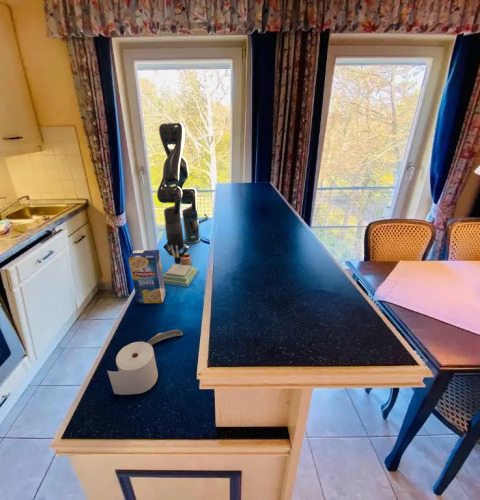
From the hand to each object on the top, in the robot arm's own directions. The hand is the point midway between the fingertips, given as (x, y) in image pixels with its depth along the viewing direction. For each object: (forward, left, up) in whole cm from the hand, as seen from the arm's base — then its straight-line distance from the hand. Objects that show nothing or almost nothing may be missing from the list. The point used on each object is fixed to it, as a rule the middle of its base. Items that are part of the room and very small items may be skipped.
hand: (178, 263), depth 135 cm
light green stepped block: (0, 0, -8) cm, 8 cm away
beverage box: (+19, -5, -8) cm, 21 cm away
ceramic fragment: (+41, +12, -8) cm, 44 cm away
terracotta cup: (-13, -2, -8) cm, 15 cm away
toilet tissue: (+58, +12, -8) cm, 60 cm away
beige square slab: (0, 0, -5) cm, 5 cm away
